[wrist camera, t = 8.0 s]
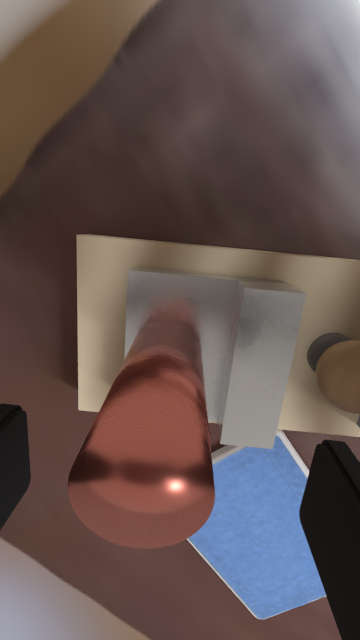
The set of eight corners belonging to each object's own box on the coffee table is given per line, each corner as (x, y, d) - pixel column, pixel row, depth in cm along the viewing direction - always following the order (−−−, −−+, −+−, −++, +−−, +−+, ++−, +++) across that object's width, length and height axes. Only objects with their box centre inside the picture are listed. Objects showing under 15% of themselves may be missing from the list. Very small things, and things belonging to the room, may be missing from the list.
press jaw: (283, 280, 18) (437, 367, 7) (258, 411, 21) (339, 626, 9) (133, 266, 18) (41, 329, 7) (127, 398, 21) (54, 598, 9)
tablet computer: (373, 564, 28) (381, 580, 27) (255, 610, 31) (258, 627, 29) (273, 415, 24) (278, 425, 23) (145, 482, 26) (143, 495, 25)
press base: (437, 267, 20) (566, 287, 13) (384, 423, 23) (463, 503, 16) (87, 234, 20) (35, 237, 13) (87, 394, 23) (46, 462, 16)
